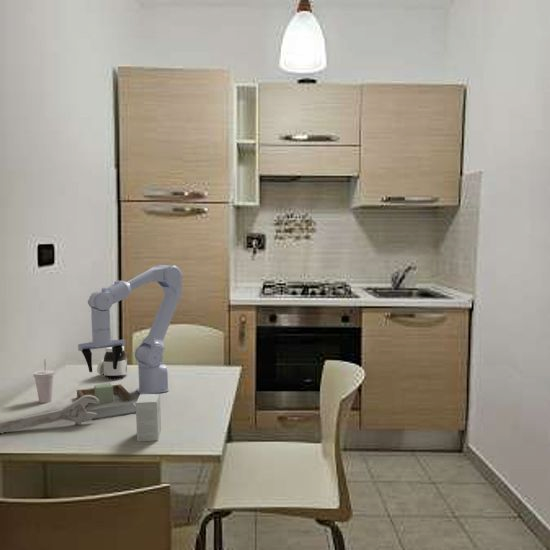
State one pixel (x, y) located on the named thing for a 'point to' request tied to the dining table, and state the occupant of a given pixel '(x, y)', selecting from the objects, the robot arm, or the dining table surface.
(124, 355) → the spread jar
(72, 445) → the dining table surface
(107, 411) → the mat
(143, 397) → the small box
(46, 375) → the smoothie
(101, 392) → the cube
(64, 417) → the wrench
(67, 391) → the dining table surface
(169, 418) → the dining table surface
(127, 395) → the wooden u-shaped frame
